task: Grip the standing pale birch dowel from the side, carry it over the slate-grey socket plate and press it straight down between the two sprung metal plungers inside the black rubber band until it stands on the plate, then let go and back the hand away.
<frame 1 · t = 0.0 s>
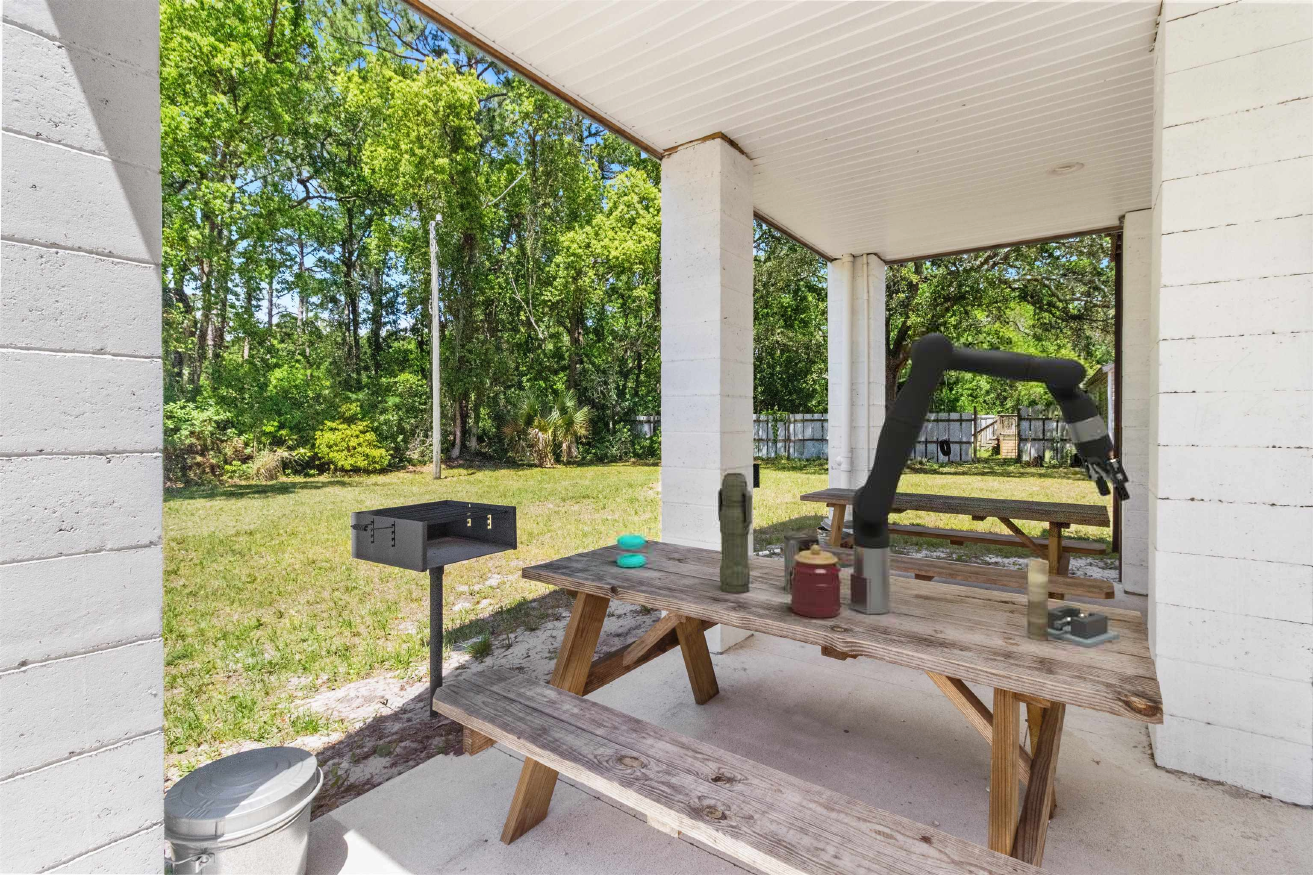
hand: (1115, 497, 145), 31 cm above the table, tool tilted 20°, fingers open, 8 cm apart
band socket: (1075, 634, 140), on the table
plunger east: (1086, 616, 142), point 3 cm above the table, slide at 0.0 cm
thermos: (735, 590, 177), on the table
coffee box: (801, 591, 176), on the table
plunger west: (1064, 622, 137), point 3 cm above the table, slide at 0.0 cm
birch dowel: (1037, 637, 138), on the table
canister: (815, 611, 158), on the table
donuts: (631, 565, 208), on the table
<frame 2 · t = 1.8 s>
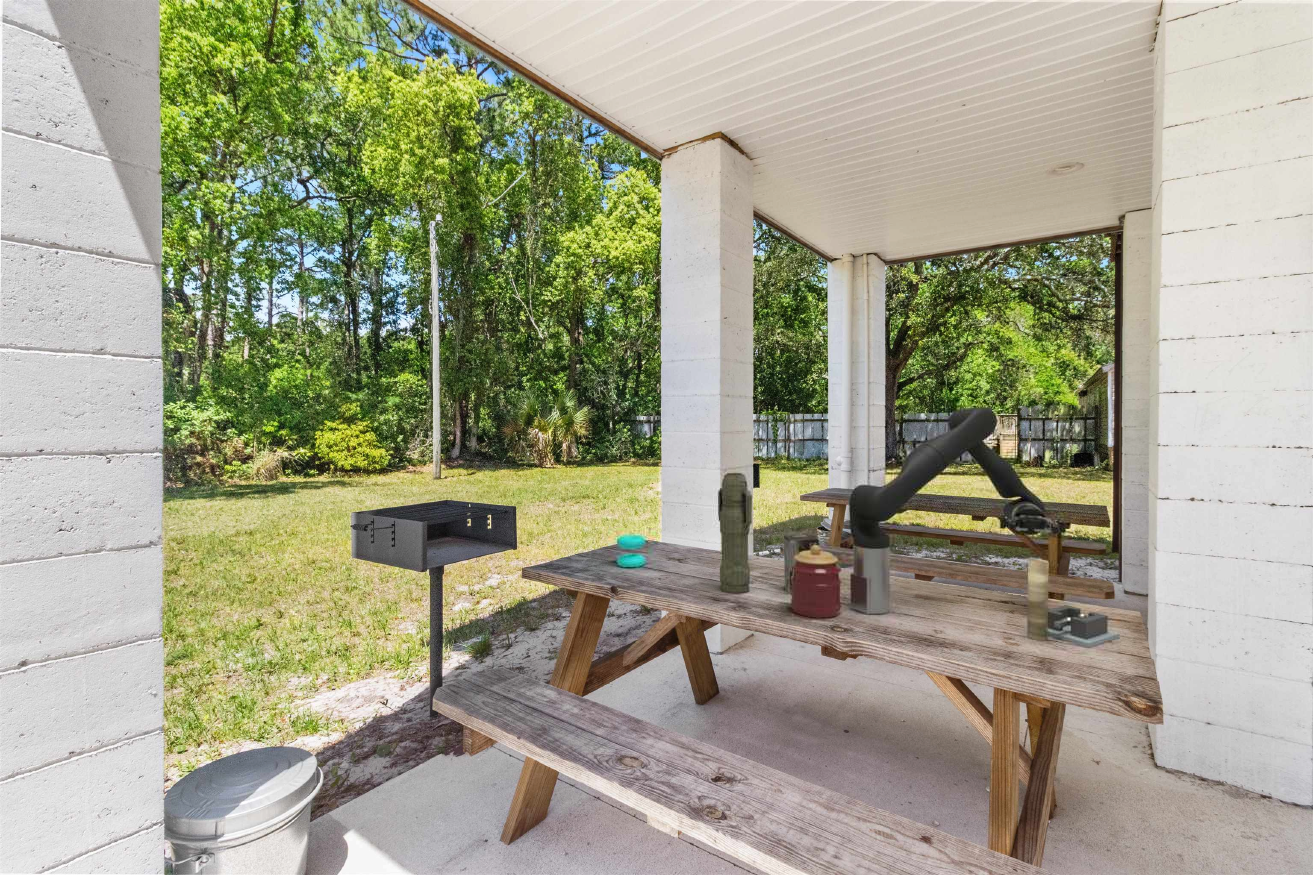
hand: (1034, 528, 147), 24 cm above the table, tool horizontal, fingers open, 8 cm apart
nothing on the table moved.
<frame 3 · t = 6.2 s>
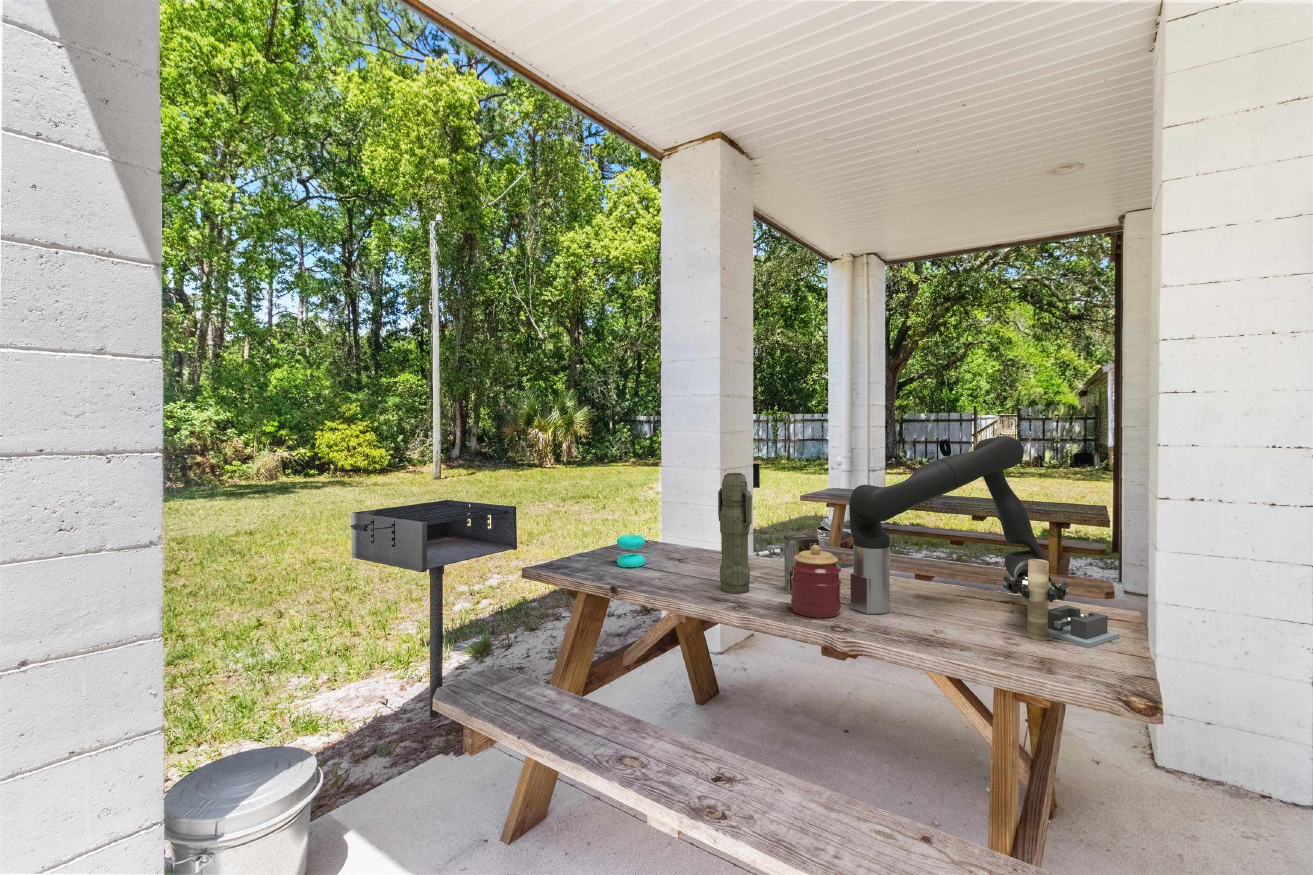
hand: (1039, 596, 135), 11 cm above the table, tool horizontal, fingers closed on birch dowel, 4 cm apart
birch dowel: (1037, 637, 138), on the table, touching gripper
everything else where it was.
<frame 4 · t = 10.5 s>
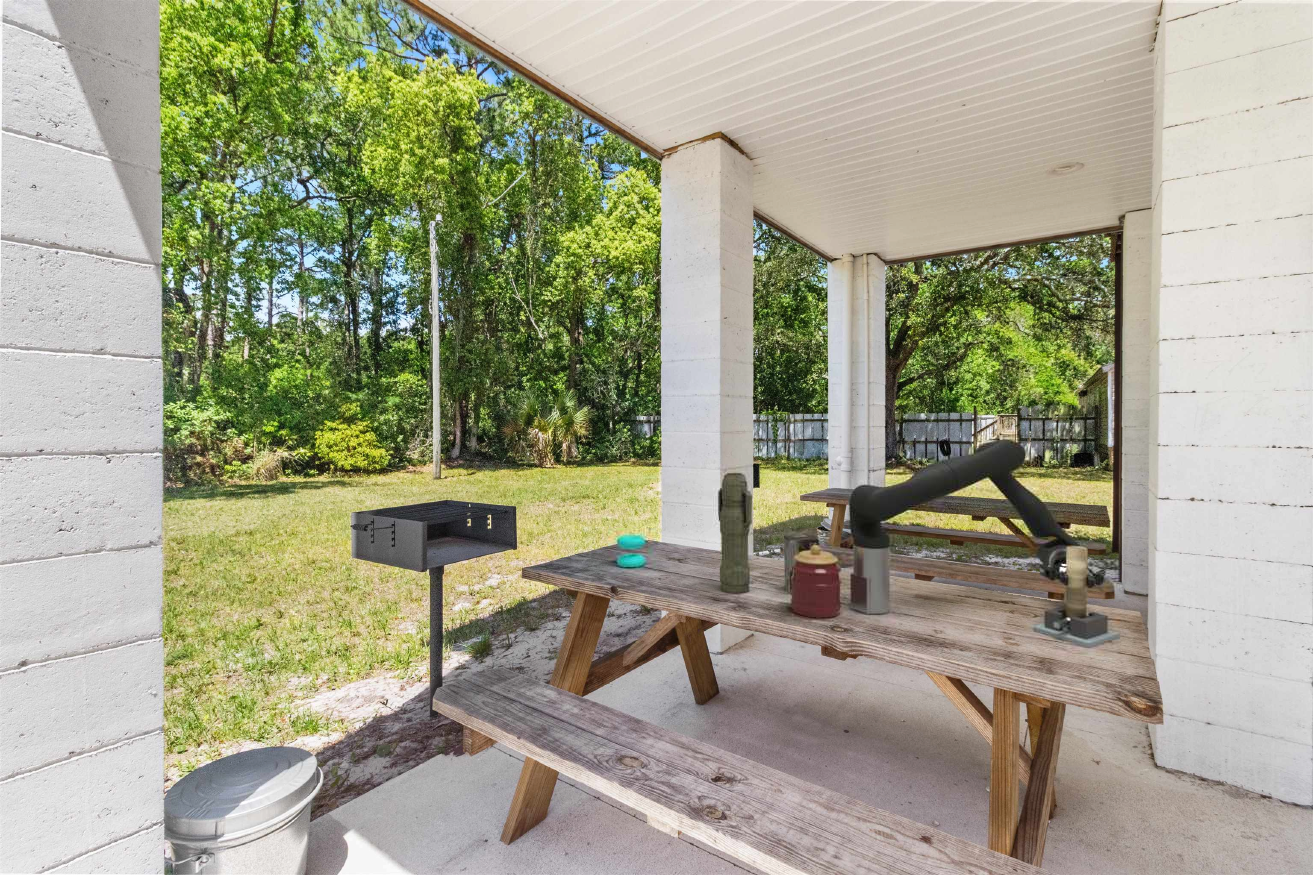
hand: (1078, 582, 137), 13 cm above the table, tool horizontal, fingers closed on birch dowel, 4 cm apart
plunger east: (1087, 615, 142), point 3 cm above the table, slide at 0.4 cm
birch dowel: (1075, 623, 140), point 3 cm above the table, touching gripper
everything else where it was.
when the fingers open (12 cm above the table, at t = 11.1 s): birch dowel stays where it is, resting on band socket.
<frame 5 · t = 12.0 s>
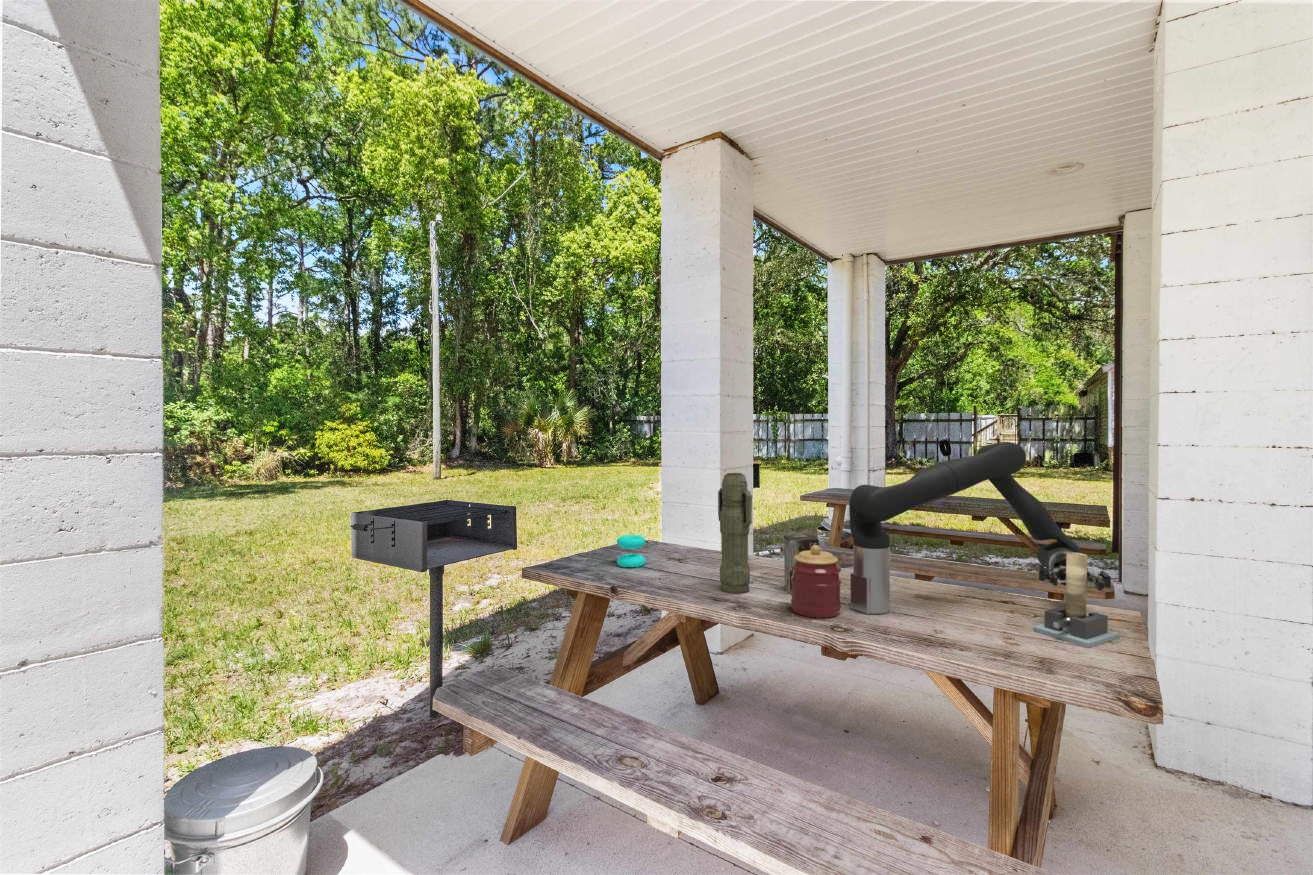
hand: (1077, 583, 138), 13 cm above the table, tool horizontal, fingers open, 8 cm apart
birch dowel: (1075, 629, 140), point 1 cm above the table, touching band socket
everything else where it was.
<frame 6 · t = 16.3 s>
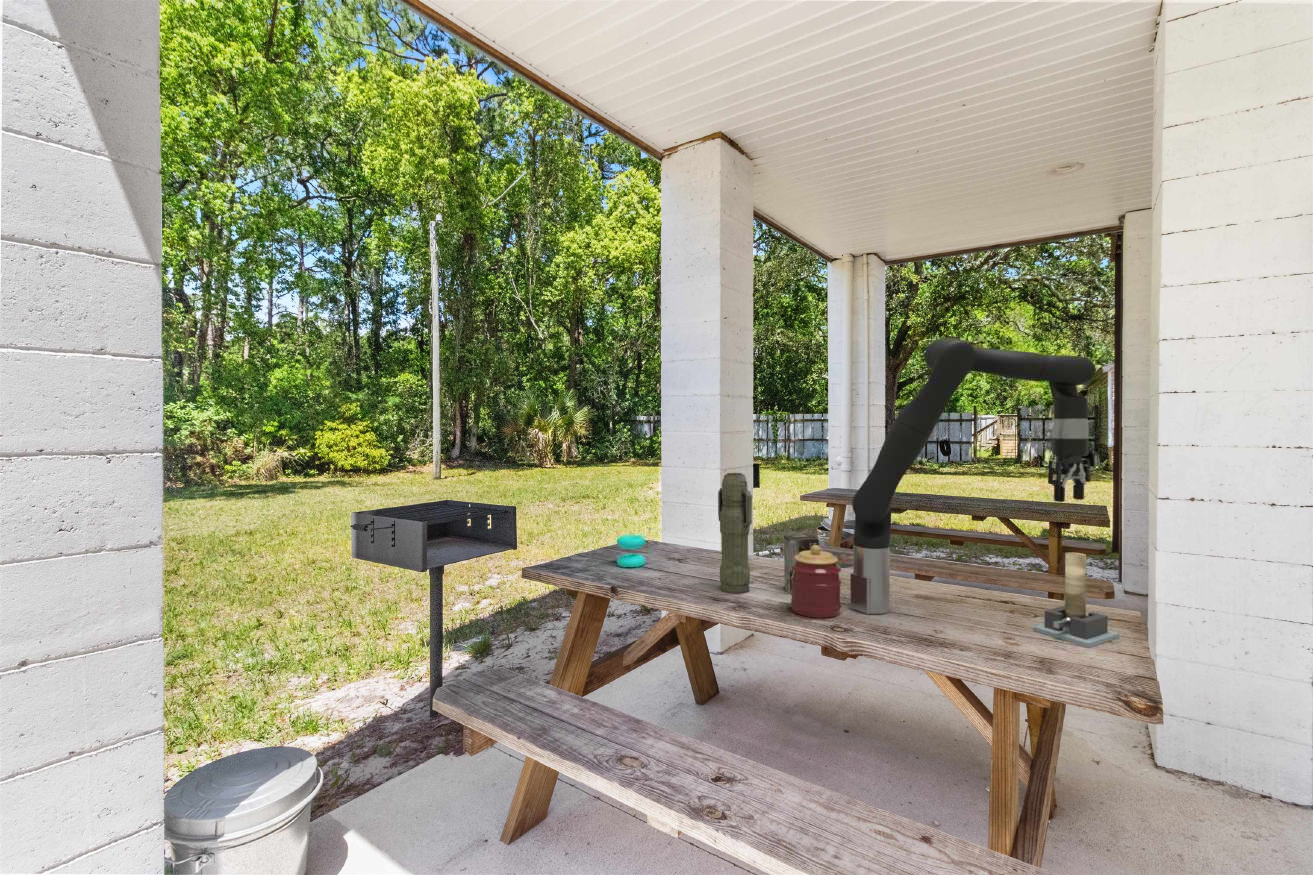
hand: (1069, 500, 150), 30 cm above the table, tool pointing down, fingers open, 8 cm apart
nothing on the table moved.
at the end: birch dowel 0.1 cm off-centre on the band socket, point 1.0 cm above the band socket's base; birch dowel tilted 1°; the gripper is holding nothing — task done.
